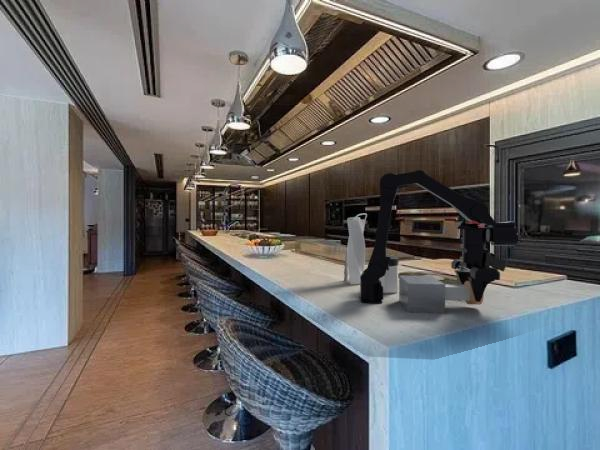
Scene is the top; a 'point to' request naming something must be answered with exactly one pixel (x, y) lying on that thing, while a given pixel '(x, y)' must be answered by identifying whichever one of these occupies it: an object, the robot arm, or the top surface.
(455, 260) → the robot arm
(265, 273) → the top surface
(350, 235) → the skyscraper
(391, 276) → the jar
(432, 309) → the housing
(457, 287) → the white and tan bar
